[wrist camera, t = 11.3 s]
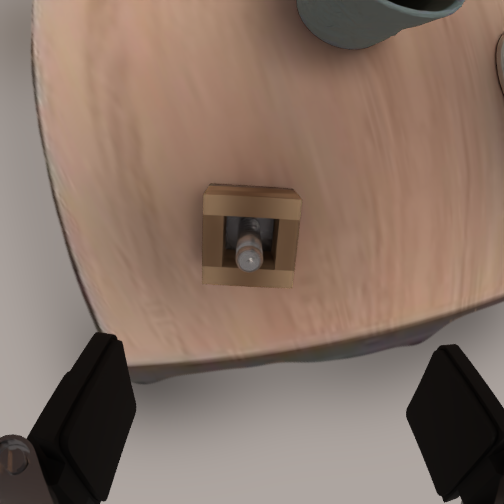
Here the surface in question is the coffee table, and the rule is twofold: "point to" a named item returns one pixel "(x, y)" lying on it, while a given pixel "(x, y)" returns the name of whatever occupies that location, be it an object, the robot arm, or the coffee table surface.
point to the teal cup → (369, 18)
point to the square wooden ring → (250, 205)
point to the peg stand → (249, 236)
